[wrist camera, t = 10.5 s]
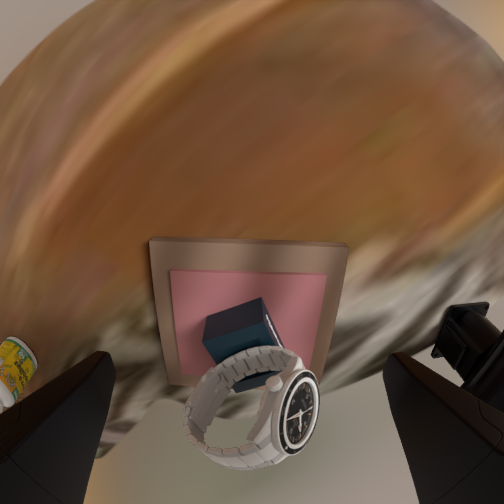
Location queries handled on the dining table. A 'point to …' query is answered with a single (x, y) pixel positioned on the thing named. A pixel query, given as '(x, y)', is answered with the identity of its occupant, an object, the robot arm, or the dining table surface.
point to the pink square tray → (244, 295)
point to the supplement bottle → (14, 370)
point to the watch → (249, 377)
